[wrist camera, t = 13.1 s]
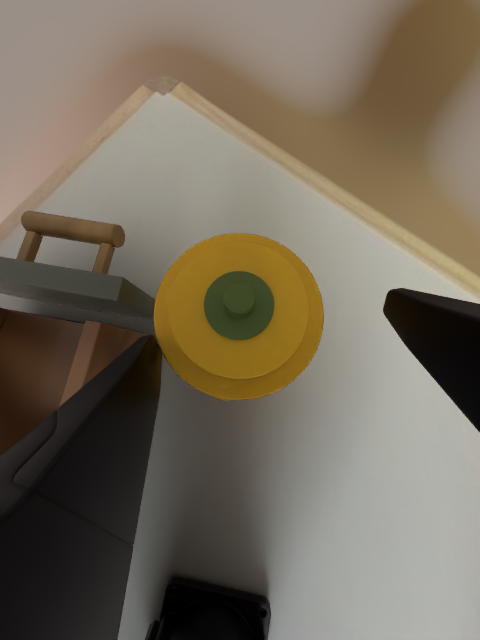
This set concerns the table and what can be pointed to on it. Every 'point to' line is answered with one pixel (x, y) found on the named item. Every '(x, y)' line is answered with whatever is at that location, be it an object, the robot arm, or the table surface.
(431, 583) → the table surface
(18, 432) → the drawer
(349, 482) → the table surface
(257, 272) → the yellow pepper
